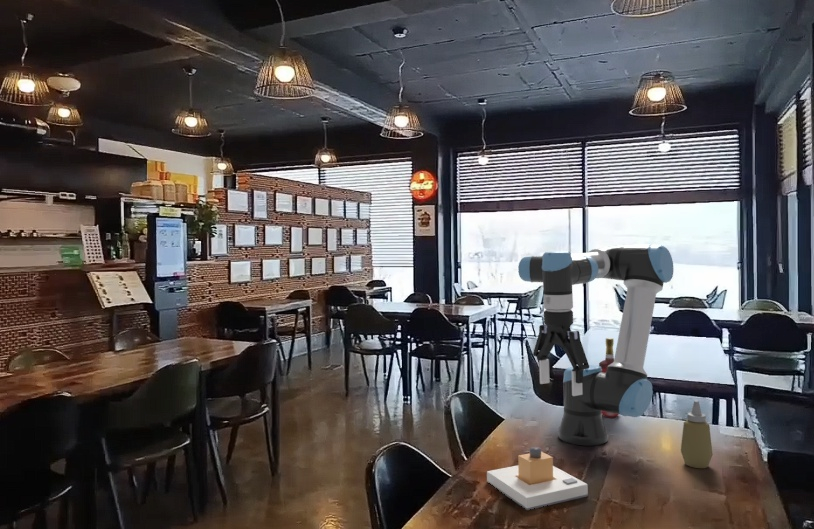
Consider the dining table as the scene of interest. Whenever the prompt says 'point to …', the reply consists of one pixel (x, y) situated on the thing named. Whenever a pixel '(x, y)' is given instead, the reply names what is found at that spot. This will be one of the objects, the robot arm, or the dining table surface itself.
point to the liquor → (604, 364)
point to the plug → (535, 467)
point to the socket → (537, 488)
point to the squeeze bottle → (696, 439)
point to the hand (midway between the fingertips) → (560, 389)
